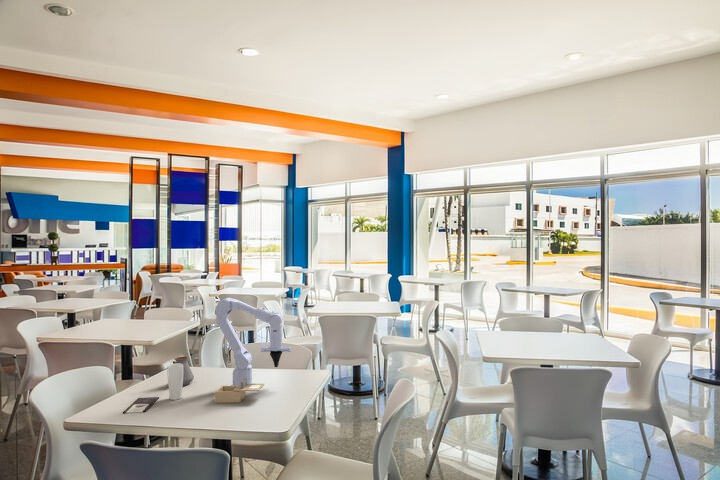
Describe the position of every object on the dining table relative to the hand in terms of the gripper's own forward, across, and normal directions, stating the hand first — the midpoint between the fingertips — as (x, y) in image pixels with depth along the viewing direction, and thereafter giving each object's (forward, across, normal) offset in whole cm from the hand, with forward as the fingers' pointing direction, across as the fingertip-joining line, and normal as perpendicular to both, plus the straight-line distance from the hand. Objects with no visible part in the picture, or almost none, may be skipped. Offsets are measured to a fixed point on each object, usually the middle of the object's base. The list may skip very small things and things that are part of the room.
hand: (276, 366), depth 228 cm
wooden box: (+9, -16, -20) cm, 27 cm away
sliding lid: (+4, -8, -20) cm, 22 cm away
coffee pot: (+10, -48, -2) cm, 49 cm away
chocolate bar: (+10, -52, -28) cm, 60 cm away
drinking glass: (+10, -42, -19) cm, 47 cm away
